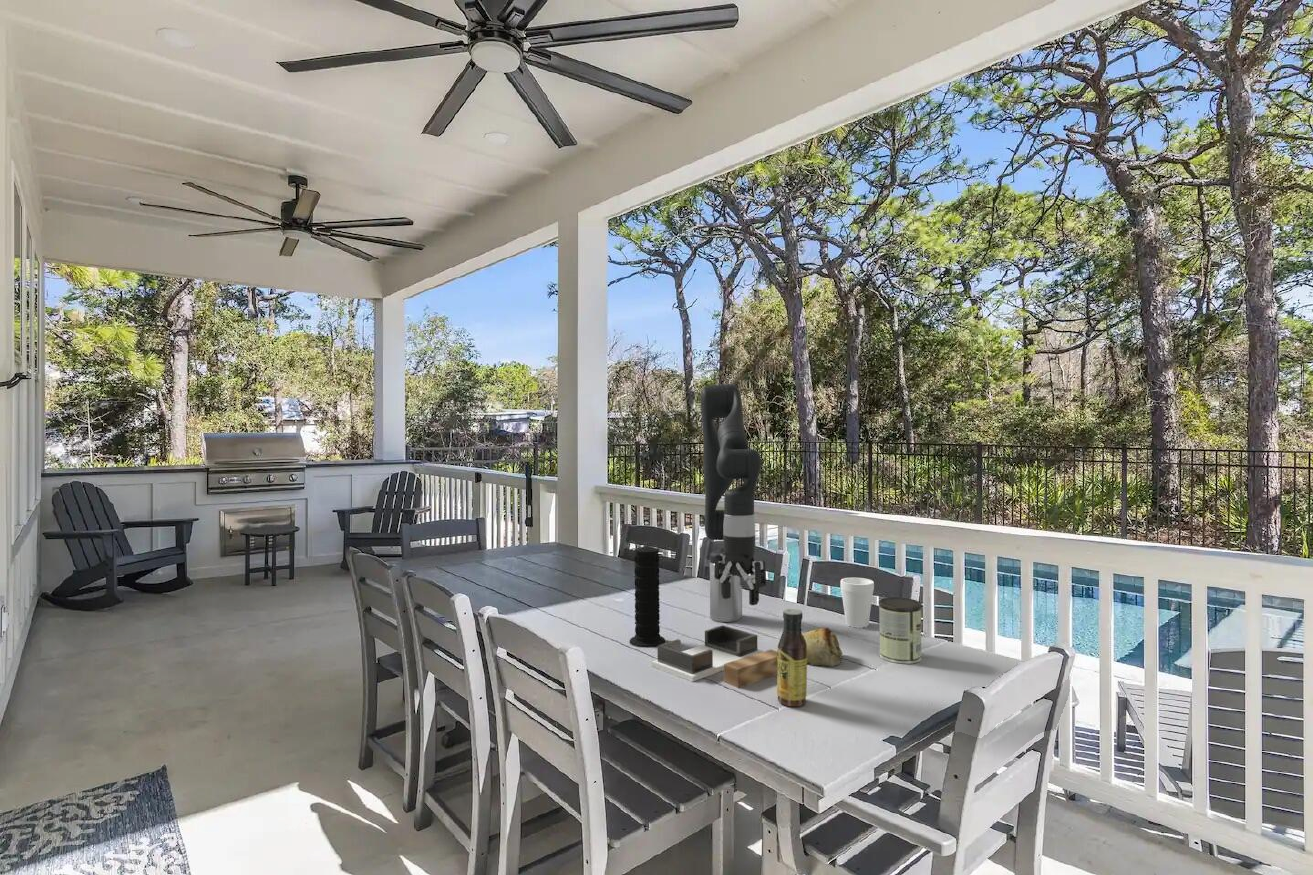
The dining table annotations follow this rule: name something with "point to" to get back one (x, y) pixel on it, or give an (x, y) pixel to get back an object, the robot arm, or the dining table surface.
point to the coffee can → (900, 630)
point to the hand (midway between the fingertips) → (739, 601)
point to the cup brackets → (714, 638)
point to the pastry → (822, 648)
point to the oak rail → (751, 668)
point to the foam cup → (857, 600)
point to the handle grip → (647, 598)
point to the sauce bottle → (792, 661)
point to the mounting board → (718, 665)
